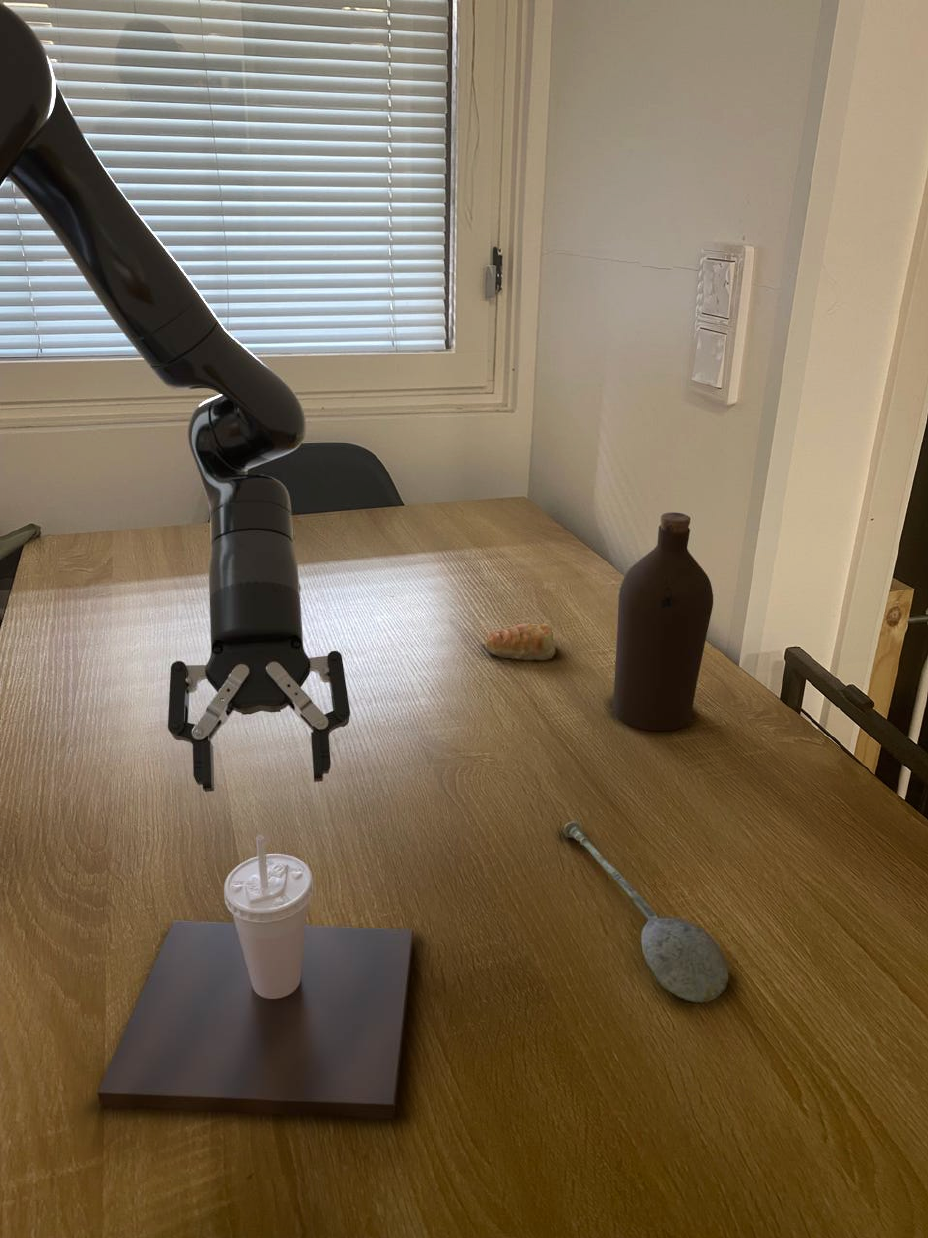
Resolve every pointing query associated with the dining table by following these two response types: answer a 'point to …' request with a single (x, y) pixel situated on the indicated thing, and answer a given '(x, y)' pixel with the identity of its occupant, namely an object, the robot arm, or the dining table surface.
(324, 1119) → the dining table surface
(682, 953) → the soupspoon
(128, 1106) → the board
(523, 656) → the pastry
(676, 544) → the olive oil
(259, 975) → the smoothie
